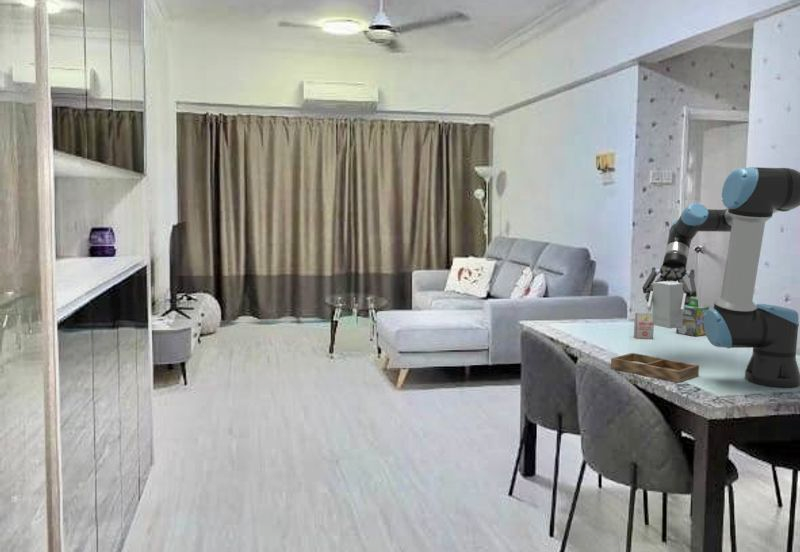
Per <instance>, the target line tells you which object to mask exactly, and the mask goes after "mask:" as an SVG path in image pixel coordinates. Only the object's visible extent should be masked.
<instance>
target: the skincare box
mask: <svg viewBox="0 0 800 552" xmlns="http://www.w3.org/2000/svg"><path fill="white" fill-rule="evenodd" d="M652 284H653V303H652V314H653V325H654V326H657V327H659V328H660V327H662V328H666V329H676V328H682V327H683V314H681V305H682V299H683V294H684V291H683V283H679V282H676V281H663V282H655V281H653V283H652Z"/></svg>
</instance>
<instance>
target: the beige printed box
mask: <svg viewBox="0 0 800 552" xmlns="http://www.w3.org/2000/svg"><path fill="white" fill-rule="evenodd" d="M634 316H635V317H634V324H633V339H636V340H654V330H655V329H654V327H655V325H653V313H649V312H648V313H643V312H635V315H634Z"/></svg>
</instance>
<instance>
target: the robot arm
mask: <svg viewBox="0 0 800 552" xmlns="http://www.w3.org/2000/svg"><path fill="white" fill-rule="evenodd" d="M721 198H722V200H721V201H722V203H723V206H724V207H725V209H711V208H710V209H708V208H707V207H706V206H705V205H704V204H702V203H699V202H692V203H689V204H688V205H687V206H686V207H685V208H684V209H683V211H682V212H681V214H680V216H679V218H678V219H677V220H675V221H673V222H672V223H671V226H670V229H669V230H668V237H667V243H666V247H665V253H664V256H663V262H662V265H661V267H660V268H656V267H655V266H654V267H652V268H651V271H650V273H649V276H648V277H647V279H646V280H645V282H644V283H643V286H642V292H643V294H646V296H645V299H646V302H647V311H648V312H651V311H652V308H653V282H663V281H667V282H677V283H683V299H682V305H681V314H684V310H685V305H689V302H690V298H695V297H697V295H698V294H697V287H696V282H695V277H696V276H695V275H696V274H695V273H696V272H695V270H694V269H691V270H687V264H688V263H687V262H688V258H689V253H690V247H691V243H692V240H693V239H694V237H695V236H696V235H697V233H699V232H723V233H724V232H725V233H727V232H728V233H729V232H730V234H729V240H728V246H727V247H728V248H727V253H726V260H725V265H724V267H725V268H724V274H723V280H722V286H721V287H722V288H721V293H720V297H718V298H716V299H715V300H714V302H713V303H714V305H713V308H712V307H711V308H709V309H708V310H707V311H706V313H705V314H704V320H703V323H704V330H705V333H706V334H705V335H706V338H707V340H708V341H709V343H710V344H711V345H712V346H714V347H717V348H726V349H731V348H733V349H734V348H735V349H736V348H737V349H738V348H739V349H740V348H741V349H742V348H743V349H744V348H746V349H747V348H749V349H750V348H751V349H752V355H751V358H750V360H749V361H748V363H747V366H746V368H745V371H744V379H745V380H746V381H748V382H750V383H753V384H756V385H757V384H758V385H763V386H768V387H776V388H795V387H798V386H800V369H799V365H798V362H797V359H796V358H797V345H798V334H799V333H798V331H799V326H800V324H799V323H800V322H799V313H798V311H796V309H792V308H788V307H783V306H778V305H774V304H773V305H771V304H768V303H767V304H766V303H754V301H753V300H754V295H755V294H754V293H755V286H756V280H757V274H758V270H759V269H758V268H759V265H760V264H759V262H760V256H761V251H762V244H763V239H764V232H765V227H766V222H767V221H768V220H770V219H771V218H773V214H775V213H777V212H778V213H779V212H789V211H791V210H794V209H796V208H799V207H800V172H799V171H798V170H796V169H794V168H789V167H758V166H756V167H754V166H749V167H738V168H736V169H734V170H732V171H731V172H730V173H729V174H728V175H727V177H726V179H725V180H724V183H723V186H722V191H721ZM659 274H660V276H659V277H658V278H657V279H656V277H657V276H658V275H659ZM686 275H687V277H688V279H689V283H690V288H691V290H690V289H689V287H688V285H687V283H686V282H685V280H684V278H683V277H685V276H686ZM655 279H656V280H655ZM690 303H691V302H690Z"/></svg>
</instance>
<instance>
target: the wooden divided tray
mask: <svg viewBox="0 0 800 552" xmlns="http://www.w3.org/2000/svg"><path fill="white" fill-rule="evenodd" d="M610 369H612V370H617V371H622V372H627V373H631V374H636V375H639V376H640V375H641V376H645V377H651V378H653V379H654V378H655V379H659V378H660V379H659V380H663V379H665V380H664V381H668V380H670V381H669V382H673V381H674V383H677V382H679V383H681V381H682V382H685V381H688V380H690V378H691V379H693V377H694V378H696V377H698V376H699V375H700V374H699V372H700V365H697V364H693V363H688V362H683V361H677V360H671V359H667V358H662V357H658V356H656V357H655V356H652V355H651V356H650V355H646V354H640V353H635V352H630V353H626V354H623V355H619V356H615V357H611V359H610ZM687 379H688V380H687ZM684 380H685V381H684Z"/></svg>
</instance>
